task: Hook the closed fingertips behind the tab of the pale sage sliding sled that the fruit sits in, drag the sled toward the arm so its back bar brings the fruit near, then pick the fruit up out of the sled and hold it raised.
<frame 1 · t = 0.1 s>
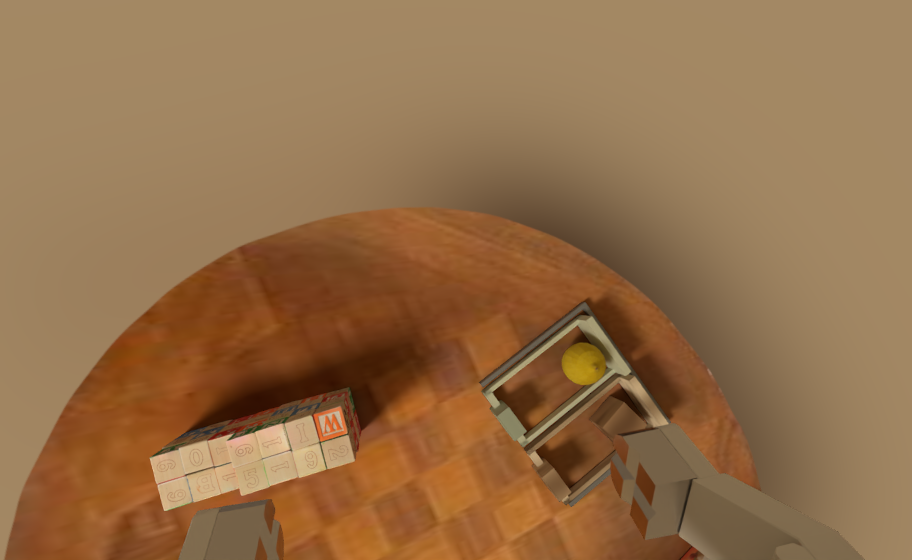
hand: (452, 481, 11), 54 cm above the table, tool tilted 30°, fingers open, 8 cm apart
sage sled: (553, 382, 65), point 2 cm above the table, slide at 0.0 cm
lane guides: (574, 403, 68), on the table
stack of blocks: (275, 430, 63), on the table
walnut cube: (609, 417, 69), resting in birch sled
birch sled: (596, 440, 66), point 2 cm above the table, slide at 0.0 cm
fruit: (572, 359, 68), resting in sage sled
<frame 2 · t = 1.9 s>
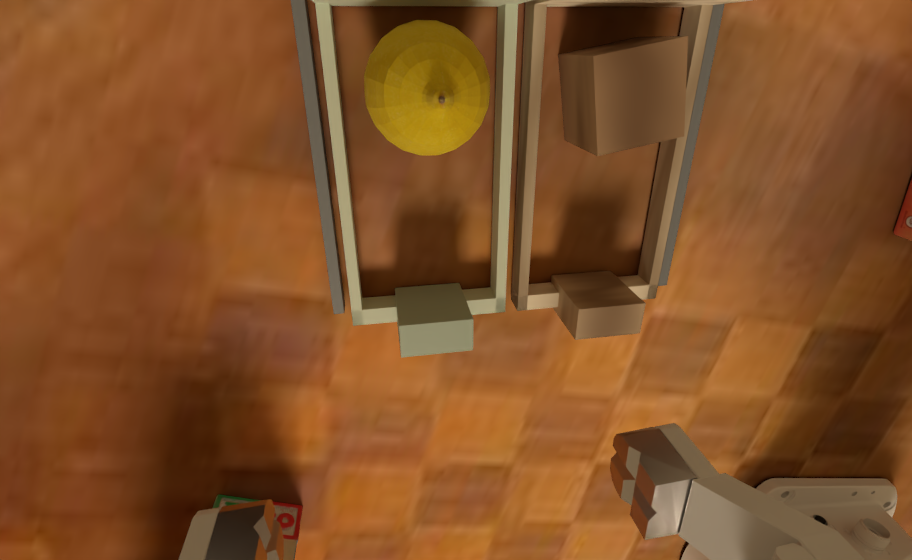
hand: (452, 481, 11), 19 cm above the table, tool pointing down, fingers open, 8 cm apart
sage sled: (427, 182, 25), point 2 cm above the table, slide at 0.0 cm
lane guides: (510, 149, 27), on the table
walnut cube: (599, 90, 27), resting in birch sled
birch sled: (611, 173, 26), point 2 cm above the table, slide at 0.0 cm
fruit: (418, 84, 25), resting in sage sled
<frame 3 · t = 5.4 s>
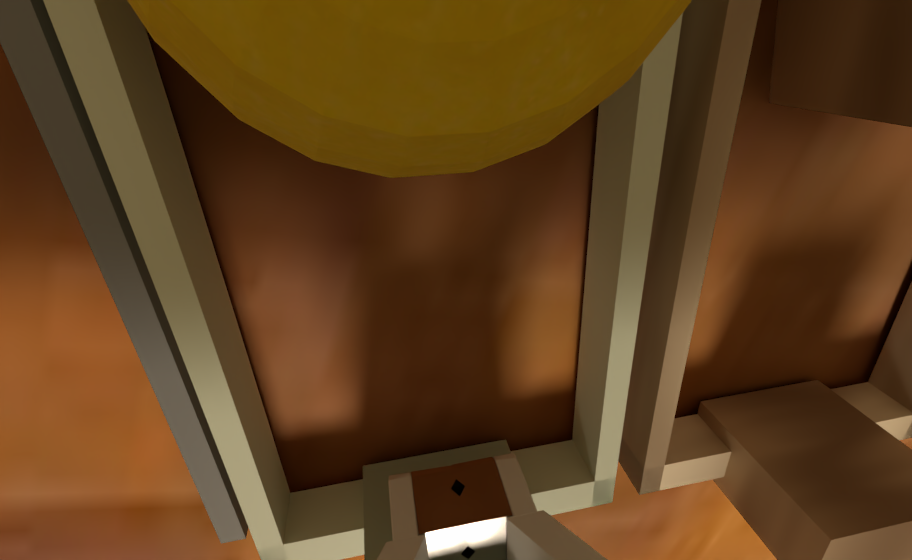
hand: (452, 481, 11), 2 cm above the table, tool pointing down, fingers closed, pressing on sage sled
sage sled: (425, 253, 8), point 2 cm above the table, slide at 0.1 cm, touching gripper
lane guides: (635, 134, 10), on the table
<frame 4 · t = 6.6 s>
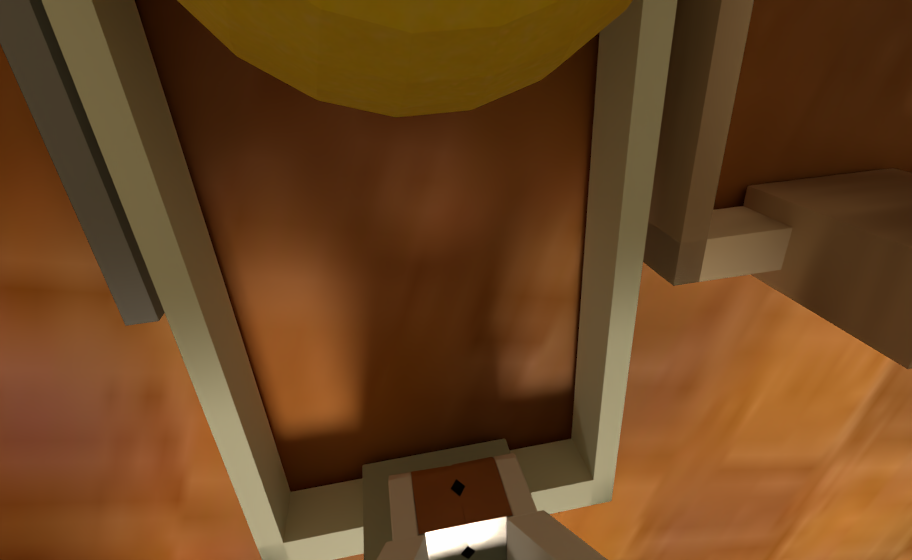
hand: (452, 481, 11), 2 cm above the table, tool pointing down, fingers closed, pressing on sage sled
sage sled: (421, 253, 8), point 2 cm above the table, slide at 6.7 cm, touching fruit, gripper
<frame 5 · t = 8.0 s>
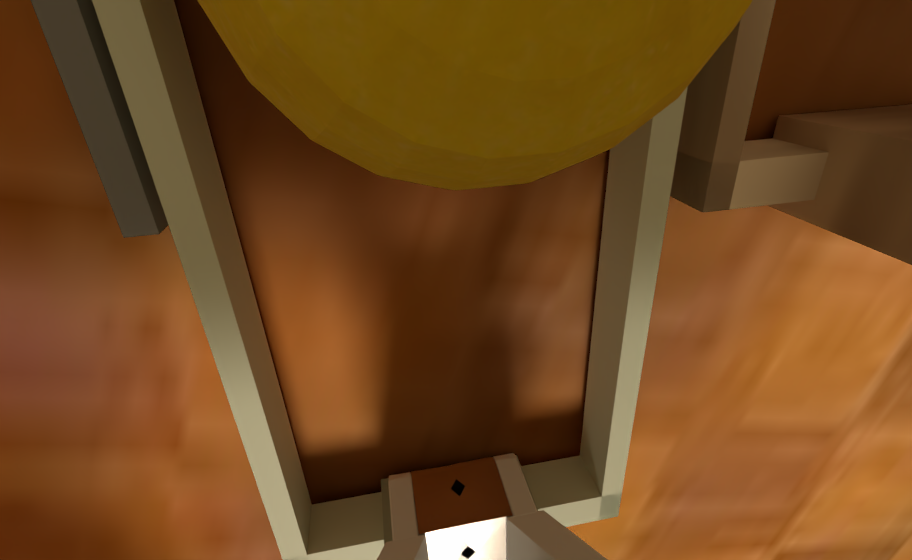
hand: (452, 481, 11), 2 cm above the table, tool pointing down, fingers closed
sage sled: (451, 291, 9), point 2 cm above the table, slide at 9.2 cm, touching fruit
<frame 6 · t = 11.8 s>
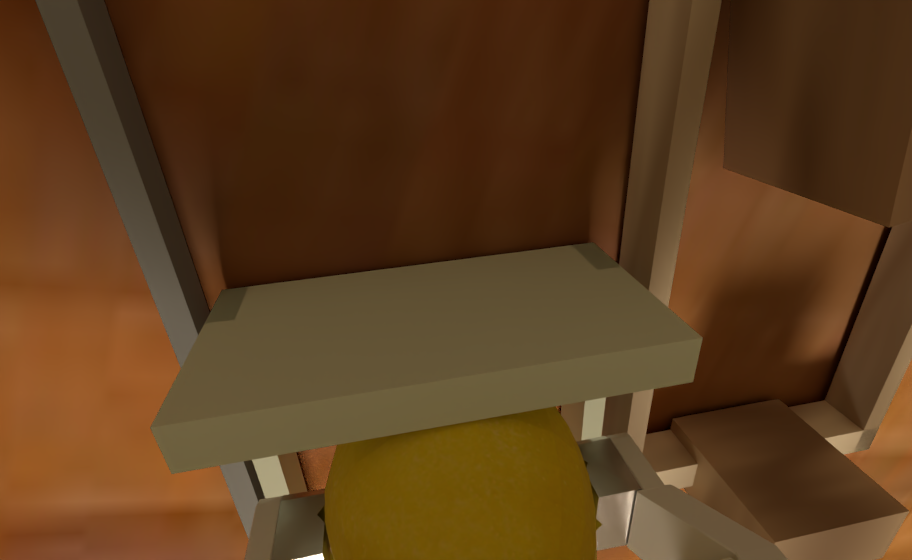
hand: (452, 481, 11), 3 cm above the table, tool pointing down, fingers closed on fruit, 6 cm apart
lane guides: (608, 196, 12), on the table
walnut cube: (811, 52, 12), resting in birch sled
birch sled: (853, 245, 11), point 2 cm above the table, slide at 0.0 cm
fruit: (431, 375, 14), resting in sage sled, touching gripper
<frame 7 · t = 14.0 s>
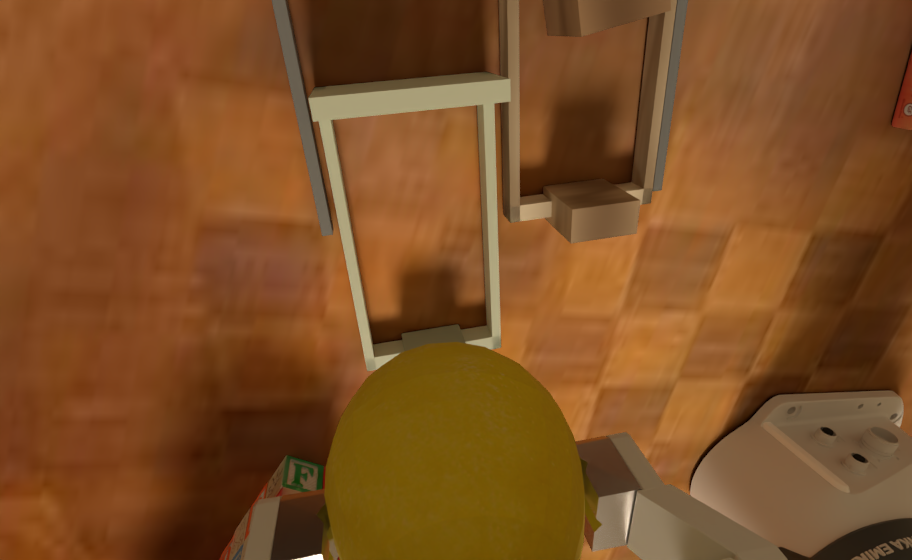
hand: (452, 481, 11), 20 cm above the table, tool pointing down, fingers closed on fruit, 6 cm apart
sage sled: (424, 249, 28), point 2 cm above the table, slide at 9.1 cm
lane guides: (491, 48, 26), on the table
stack of blocks: (264, 546, 41), on the table
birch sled: (597, 63, 25), point 2 cm above the table, slide at 0.0 cm
fruit: (435, 363, 14), point 16 cm above the table, touching gripper
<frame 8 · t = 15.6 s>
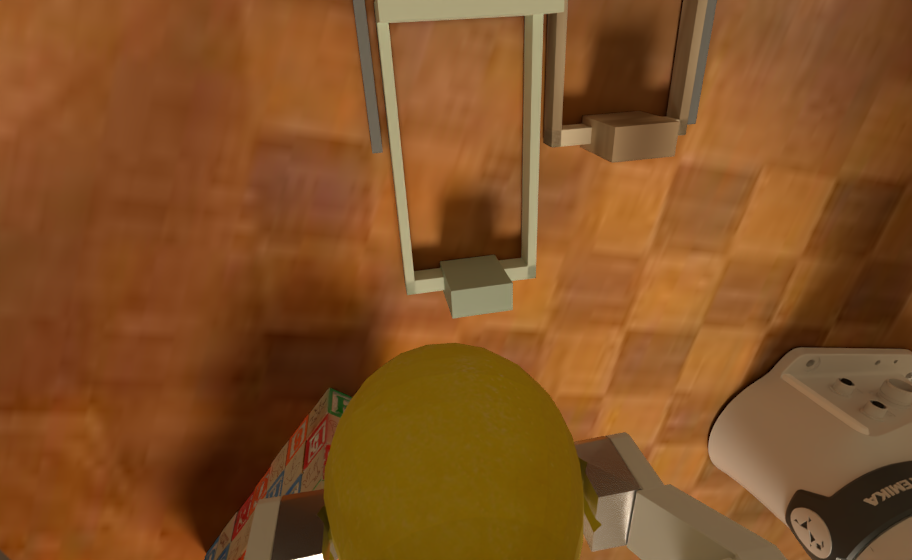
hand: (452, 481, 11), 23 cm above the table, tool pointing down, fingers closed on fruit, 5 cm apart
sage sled: (470, 168, 29), point 2 cm above the table, slide at 9.1 cm
stack of blocks: (297, 483, 42), on the table
fruit: (433, 364, 14), point 19 cm above the table, touching gripper
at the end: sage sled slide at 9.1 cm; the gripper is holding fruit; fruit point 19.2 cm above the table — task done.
